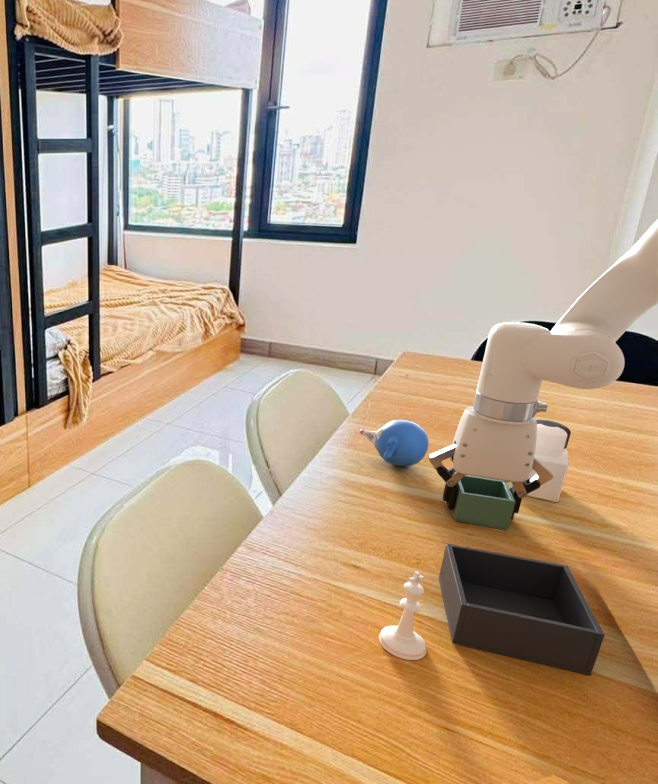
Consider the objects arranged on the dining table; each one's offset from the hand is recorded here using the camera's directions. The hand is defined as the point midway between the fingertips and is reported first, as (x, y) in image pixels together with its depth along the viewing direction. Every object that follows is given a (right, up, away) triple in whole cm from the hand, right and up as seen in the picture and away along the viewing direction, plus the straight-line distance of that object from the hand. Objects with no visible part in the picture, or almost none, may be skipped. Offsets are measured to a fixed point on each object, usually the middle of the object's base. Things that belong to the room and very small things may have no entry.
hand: (478, 509), depth 99 cm
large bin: (-11, -9, -23) cm, 27 cm away
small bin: (0, -1, 0) cm, 1 cm away
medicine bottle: (+14, +2, +8) cm, 16 cm away
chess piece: (-26, -11, -26) cm, 38 cm away
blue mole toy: (-5, +6, +19) cm, 20 cm away
